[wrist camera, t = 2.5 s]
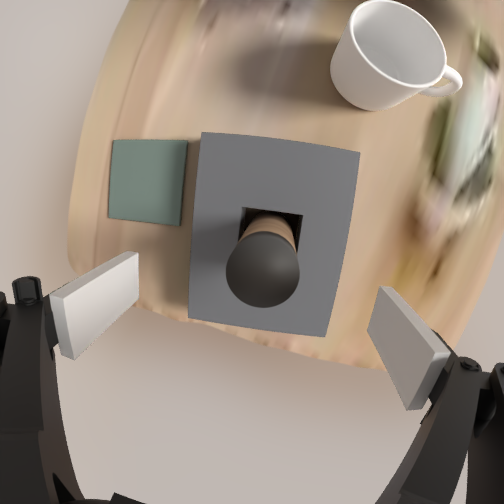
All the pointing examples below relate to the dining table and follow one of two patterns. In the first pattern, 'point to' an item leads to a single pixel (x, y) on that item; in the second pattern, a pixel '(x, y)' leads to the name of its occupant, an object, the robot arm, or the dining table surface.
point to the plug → (264, 262)
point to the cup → (389, 57)
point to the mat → (147, 180)
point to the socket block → (275, 199)
